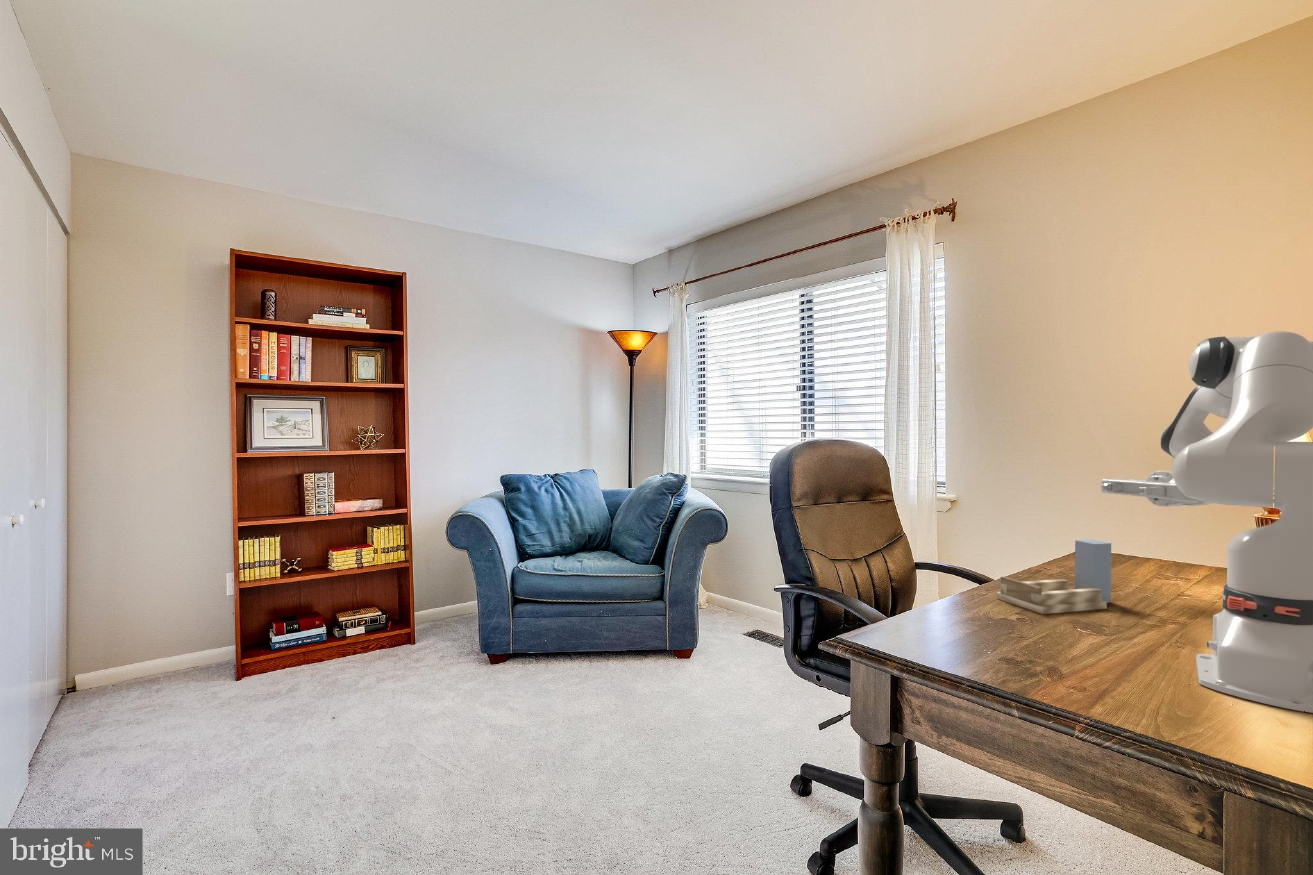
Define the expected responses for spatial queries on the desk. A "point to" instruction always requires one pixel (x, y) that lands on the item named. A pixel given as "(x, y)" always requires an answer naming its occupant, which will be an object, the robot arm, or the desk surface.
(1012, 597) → the shallow wooden tray
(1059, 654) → the desk surface
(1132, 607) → the desk surface
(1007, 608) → the desk surface
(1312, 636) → the robot arm
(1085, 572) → the slate block
